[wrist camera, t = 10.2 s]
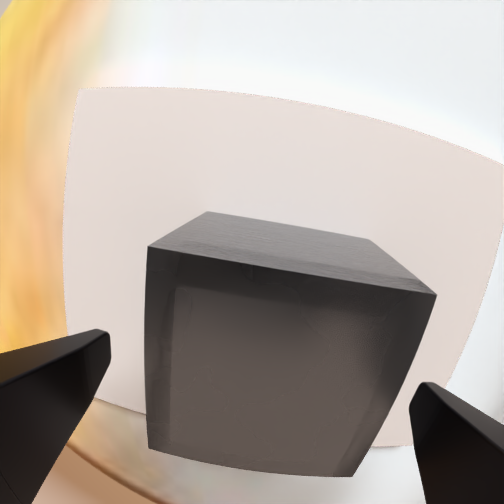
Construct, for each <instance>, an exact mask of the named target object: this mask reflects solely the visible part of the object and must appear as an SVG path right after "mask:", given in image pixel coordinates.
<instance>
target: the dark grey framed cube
mask: <svg viewBox="0 0 504 504" xmlns="http://www.w3.org/2000/svg"><path fill="white" fill-rule="evenodd" d="M436 298H437V294H436V293H435V292H434V291H433V290H431V289H430V288H429V287H428V286H427V285H425V284H424V283H423V282H422V281H421V280H419V279H418V278H417V277H416V276H415V275H413V274H412V273H411V272H410V271H409V270H407V269H406V268H405V267H404V266H402V265H401V264H400V263H399V262H397V261H396V260H395V259H394V258H392V257H391V256H390V255H389V254H387V253H386V252H385V251H384V250H382V249H381V248H380V247H379V246H377V245H376V244H375V243H373V242H372V241H371V240H369V239H365V238H360V237H354V236H349V235H344V234H339V233H333V232H328V231H322V230H317V229H311V228H306V227H300V226H294V225H289V224H283V223H277V222H271V221H265V220H259V219H253V218H247V217H241V216H235V215H229V214H222V213H216V212H210V211H207V212H205V213H203V214H201V215H200V216H198V217H196V218H194V219H193V220H191V221H189V222H187V223H186V224H184V225H182V226H180V227H179V228H177V229H175V230H174V231H172V232H170V233H169V234H167V235H165V236H164V237H162V238H160V239H158V240H157V241H155V242H153V243H152V244H150V245H148V246H147V261H146V280H145V307H144V377H145V403H146V421H147V435H148V448H149V449H153V450H156V451H160V452H163V453H167V454H171V455H175V456H179V457H183V458H187V459H191V460H196V461H200V462H205V463H210V464H215V465H221V466H226V467H232V468H238V469H245V470H252V471H259V472H268V473H277V474H288V475H301V476H320V477H352V476H353V475H354V473H355V472H356V470H357V468H358V467H359V465H360V464H361V462H362V460H363V459H364V457H365V455H366V454H367V452H368V450H369V449H370V447H371V445H372V443H373V442H374V440H375V438H376V436H377V434H378V433H379V431H380V429H381V427H382V425H383V423H384V422H385V420H386V418H387V416H388V414H389V412H390V410H391V408H392V406H393V404H394V402H395V400H396V398H397V396H398V394H399V391H400V389H401V387H402V385H403V383H404V381H405V378H406V376H407V374H408V372H409V369H410V367H411V365H412V362H413V360H414V358H415V355H416V353H417V350H418V348H419V345H420V343H421V340H422V338H423V335H424V332H425V330H426V327H427V324H428V321H429V319H430V316H431V313H432V310H433V307H434V304H435V301H436Z"/></svg>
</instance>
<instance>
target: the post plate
mask: <svg viewBox="0 0 504 504" xmlns="http://www.w3.org/2000/svg"><path fill="white" fill-rule="evenodd" d="M207 211H210V212H216V213H222V214H229V215H235V216H241V217H247V218H253V219H259V220H265V221H271V222H277V223H283V224H289V225H294V226H300V227H306V228H311V229H317V230H322V231H328V232H333V233H339V234H344V235H349V236H354V237H360V238H365V239H369V240H371V241H372V242H373V243H375V244H376V245H377V246H379V247H380V248H381V249H382V250H384V251H385V252H386V253H387V254H389V255H390V256H391V257H392V258H394V259H395V260H396V261H397V262H399V263H400V264H401V265H402V266H404V267H405V268H406V269H407V270H409V271H410V272H411V273H412V274H413V275H415V276H416V277H417V278H418V279H419V280H421V281H422V282H423V283H424V284H425V285H427V286H428V287H429V288H430V289H431V290H433V291H434V292H435V293H436V294H437V298H436V301H435V304H434V307H433V310H432V313H431V316H430V319H429V321H428V324H427V327H426V330H425V332H424V335H423V338H422V340H421V343H420V345H419V348H418V350H417V353H416V355H415V358H414V360H413V362H412V365H411V367H410V369H409V372H408V374H407V376H406V378H405V381H404V383H403V385H402V387H401V389H400V391H399V394H398V396H397V398H396V400H395V402H394V404H393V406H392V408H391V410H390V412H389V414H388V416H387V418H386V420H385V422H384V423H383V425H382V427H381V429H380V431H379V433H378V434H377V436H376V438H375V440H374V442H373V443H372V445H371V447H383V446H410V445H412V444H413V436H412V429H411V423H410V416H409V404H410V402H411V400H412V398H413V396H414V394H415V392H416V390H417V388H418V386H419V384H420V383H422V382H434V383H436V384H437V385H439V386H441V387H442V388H444V389H445V387H446V385H447V383H448V381H449V379H450V377H451V375H452V373H453V371H454V369H455V367H456V365H457V363H458V360H459V358H460V356H461V354H462V351H463V349H464V347H465V344H466V342H467V340H468V337H469V335H470V332H471V330H472V327H473V325H474V322H475V320H476V317H477V314H478V311H479V309H480V306H481V303H482V300H483V297H484V294H485V291H486V288H487V285H488V282H489V278H490V275H491V272H492V268H493V265H494V261H495V257H496V254H497V250H498V246H499V242H500V237H501V233H502V229H503V224H504V165H503V164H501V163H498V162H496V161H494V160H492V159H489V158H487V157H485V156H482V155H480V154H477V153H475V152H473V151H470V150H468V149H465V148H463V147H460V146H457V145H455V144H452V143H449V142H447V141H444V140H441V139H438V138H435V137H433V136H430V135H427V134H424V133H421V132H418V131H415V130H411V129H408V128H405V127H402V126H398V125H395V124H392V123H388V122H385V121H381V120H377V119H374V118H370V117H366V116H362V115H358V114H354V113H350V112H346V111H342V110H337V109H333V108H328V107H323V106H318V105H313V104H308V103H303V102H298V101H292V100H286V99H280V98H273V97H267V96H260V95H252V94H244V93H235V92H226V91H215V90H203V89H188V88H167V87H106V88H85V89H79V90H78V95H77V100H76V106H75V111H74V117H73V123H72V129H71V136H70V143H69V151H68V160H67V169H66V180H65V194H64V212H63V279H64V297H65V311H66V322H67V331H68V336H70V335H74V334H78V333H81V332H85V331H89V330H92V329H100V330H104V331H107V332H108V333H109V334H110V340H111V362H110V365H109V367H108V369H107V371H106V373H105V375H104V377H103V379H102V381H101V383H100V386H99V388H98V390H97V392H96V394H95V396H94V397H95V398H98V399H101V400H103V401H106V402H109V403H112V404H115V405H118V406H121V407H124V408H127V409H130V410H133V411H137V412H140V413H143V414H146V403H145V377H144V307H145V280H146V261H147V246H148V245H150V244H152V243H153V242H155V241H157V240H158V239H160V238H162V237H164V236H165V235H167V234H169V233H170V232H172V231H174V230H175V229H177V228H179V227H180V226H182V225H184V224H186V223H187V222H189V221H191V220H193V219H194V218H196V217H198V216H200V215H201V214H203V213H205V212H207Z"/></svg>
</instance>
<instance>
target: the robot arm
mask: <svg viewBox="0 0 504 504" xmlns="http://www.w3.org/2000/svg"><path fill="white" fill-rule="evenodd" d="M110 362H111V340H110V334H109V333H108V332H107V331H104V330H100V329H92V330H89V331H85V332H81V333H78V334H74V335H70V336H66V337H63V338H59V339H55V340H51V341H47V342H44V343H40V344H36V345H32V346H28V347H24V348H20V349H16V350H12V351H8V352H4V353H0V504H32V502H33V500H34V498H35V496H36V495H37V493H38V491H39V489H40V487H41V486H42V484H43V482H44V480H45V479H46V477H47V475H48V473H49V472H50V470H51V468H52V467H53V465H54V463H55V461H56V460H57V458H58V456H59V455H60V453H61V451H62V450H63V448H64V446H65V445H66V443H67V441H68V440H69V438H70V436H71V435H72V433H73V431H74V430H75V428H76V427H77V425H78V423H79V422H80V420H81V419H82V417H83V415H84V414H85V412H86V411H87V409H88V407H89V406H90V404H91V402H92V400H93V398H94V396H95V394H96V392H97V390H98V388H99V386H100V383H101V381H102V379H103V377H104V375H105V373H106V371H107V369H108V367H109V365H110ZM409 416H410V423H411V429H412V436H413V444H414V450H415V455H416V459H417V463H418V468H419V472H420V476H421V481H422V485H423V490H424V495H425V500H426V504H504V425H503V424H501V423H499V422H498V421H496V420H494V419H493V418H491V417H489V416H488V415H486V414H485V413H483V412H481V411H480V410H478V409H476V408H475V407H473V406H471V405H470V404H468V403H467V402H465V401H463V400H462V399H460V398H458V397H457V396H455V395H454V394H452V393H450V392H449V391H447V390H446V389H444V388H442V387H441V386H439V385H437V384H436V383H434V382H422V383H420V384H419V386H418V388H417V390H416V392H415V394H414V396H413V398H412V400H411V402H410V404H409Z"/></svg>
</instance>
